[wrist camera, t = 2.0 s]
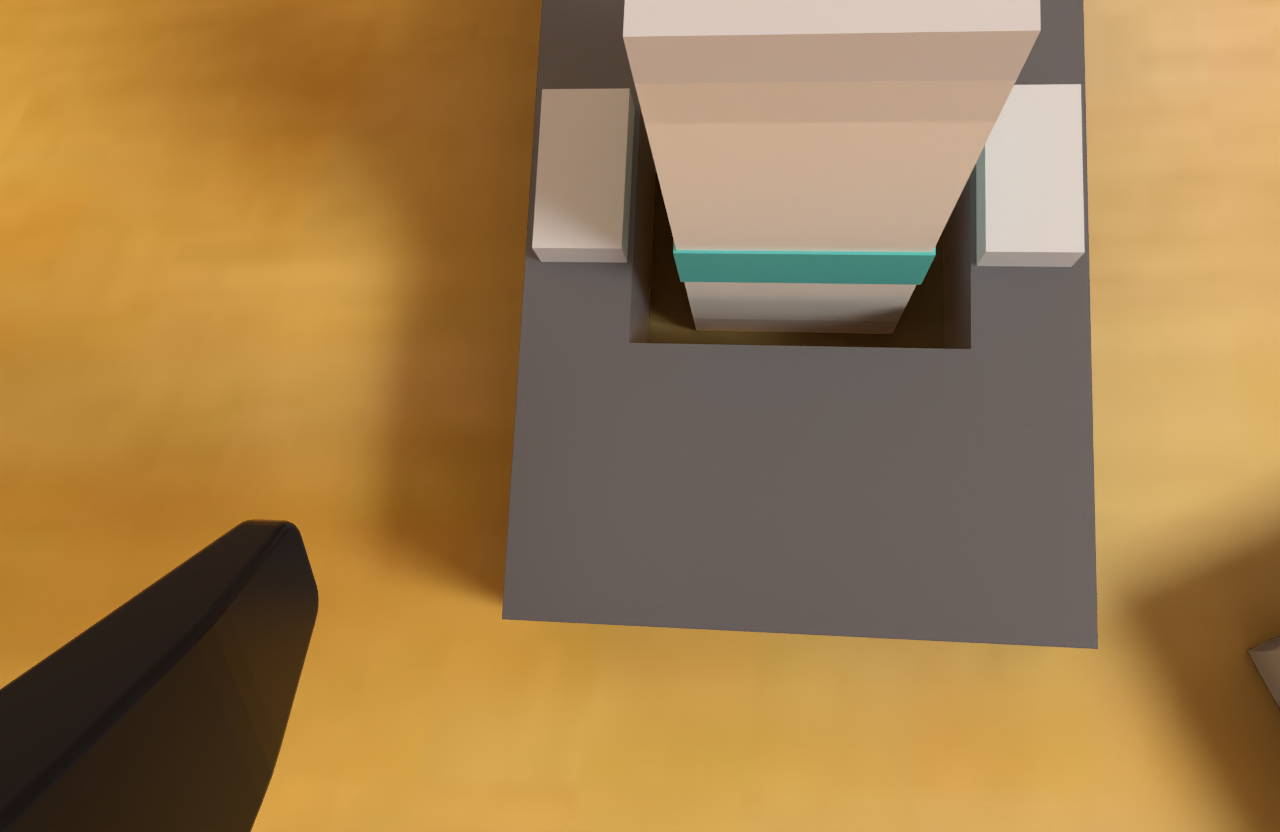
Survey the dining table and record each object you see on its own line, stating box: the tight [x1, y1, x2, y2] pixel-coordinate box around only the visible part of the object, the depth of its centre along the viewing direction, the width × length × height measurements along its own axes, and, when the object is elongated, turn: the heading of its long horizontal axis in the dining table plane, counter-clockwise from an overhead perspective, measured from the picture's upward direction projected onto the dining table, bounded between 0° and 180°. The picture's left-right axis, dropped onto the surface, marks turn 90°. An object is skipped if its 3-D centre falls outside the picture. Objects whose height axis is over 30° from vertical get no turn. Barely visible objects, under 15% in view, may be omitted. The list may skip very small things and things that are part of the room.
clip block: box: [502, 0, 1098, 649], centre depth 21 cm, size 16×10×4 cm, turn 177°
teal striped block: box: [623, 0, 1041, 334], centre depth 17 cm, size 4×4×12 cm
